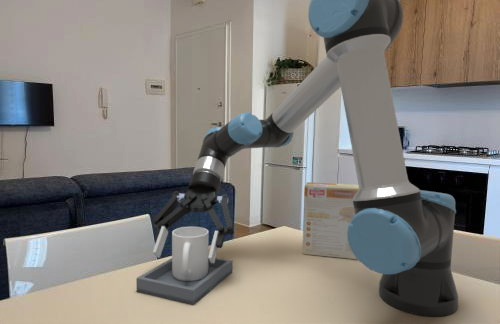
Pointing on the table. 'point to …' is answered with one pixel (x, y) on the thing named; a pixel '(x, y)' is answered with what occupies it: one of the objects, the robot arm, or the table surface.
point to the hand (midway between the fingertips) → (183, 257)
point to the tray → (182, 282)
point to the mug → (190, 253)
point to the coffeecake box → (328, 219)
